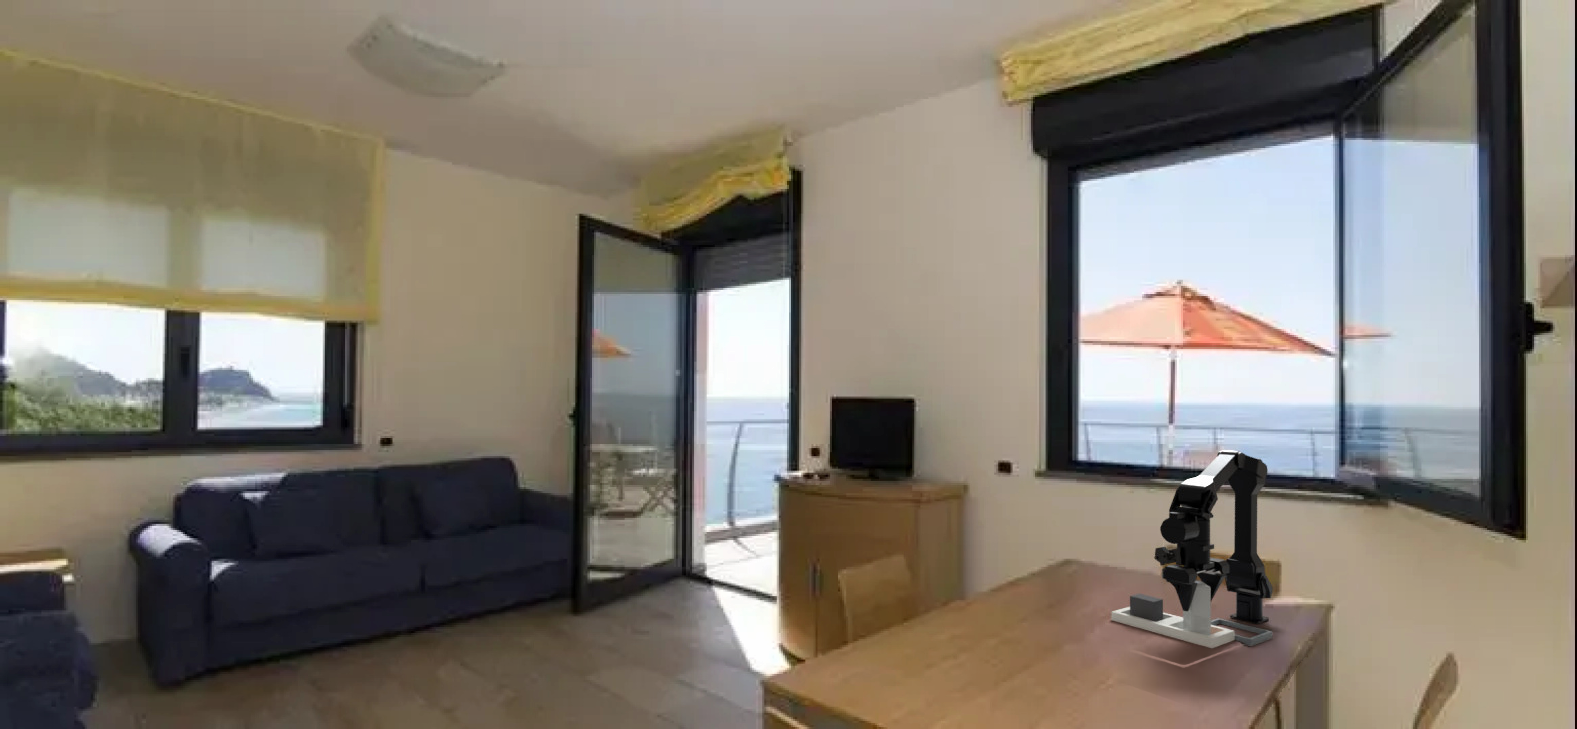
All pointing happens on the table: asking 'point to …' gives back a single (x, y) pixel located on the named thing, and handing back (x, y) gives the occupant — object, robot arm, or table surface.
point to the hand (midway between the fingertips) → (1196, 607)
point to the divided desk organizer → (1175, 628)
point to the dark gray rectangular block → (1146, 607)
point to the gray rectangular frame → (1247, 641)
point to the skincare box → (1199, 611)
